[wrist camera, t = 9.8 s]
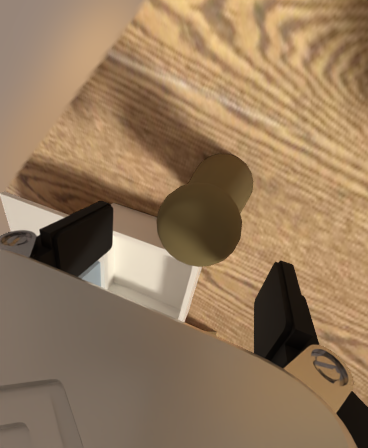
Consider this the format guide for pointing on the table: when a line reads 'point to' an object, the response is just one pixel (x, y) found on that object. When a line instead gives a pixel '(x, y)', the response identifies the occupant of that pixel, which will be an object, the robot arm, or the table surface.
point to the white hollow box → (148, 266)
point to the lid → (41, 217)
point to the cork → (206, 212)
